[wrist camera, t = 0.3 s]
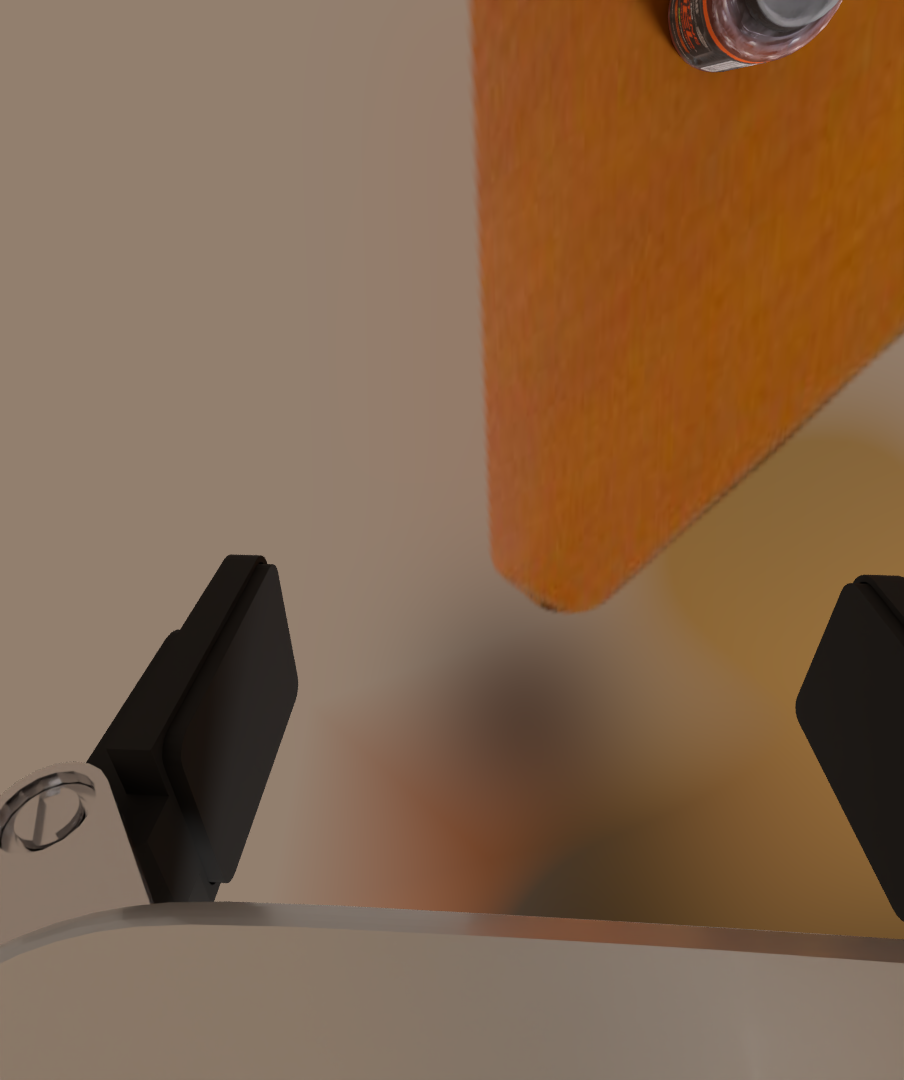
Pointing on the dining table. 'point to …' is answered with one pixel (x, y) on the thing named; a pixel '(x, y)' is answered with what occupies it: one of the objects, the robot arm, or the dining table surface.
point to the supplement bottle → (744, 30)
